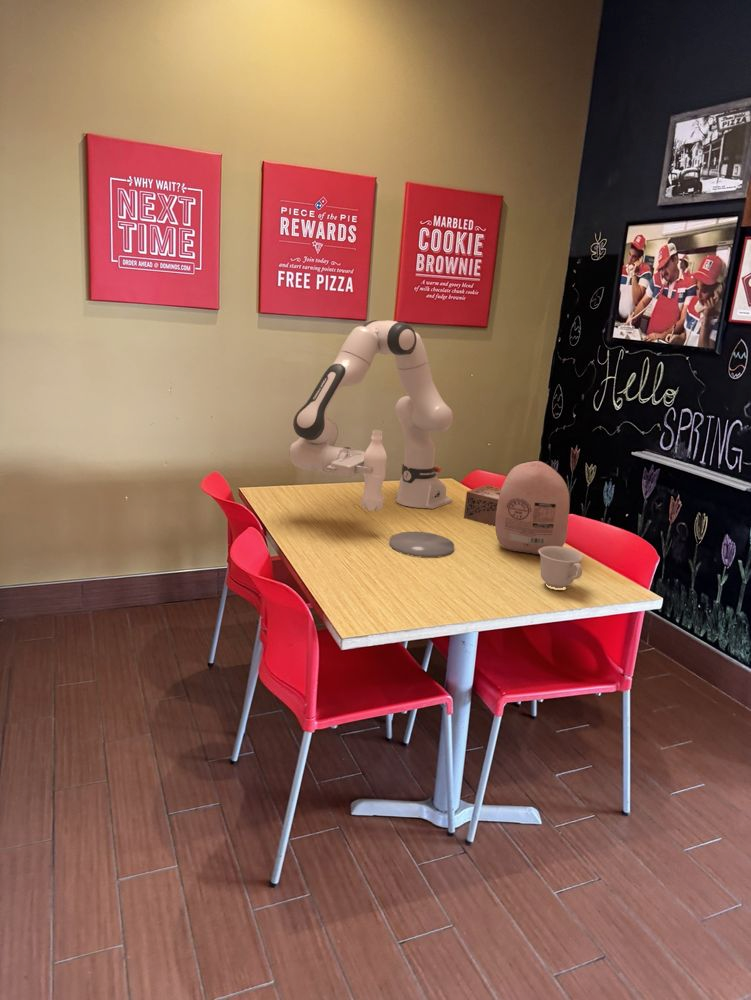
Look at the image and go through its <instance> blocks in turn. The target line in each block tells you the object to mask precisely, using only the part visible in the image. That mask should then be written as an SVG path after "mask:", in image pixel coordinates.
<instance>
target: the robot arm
mask: <svg viewBox="0 0 751 1000" xmlns="http://www.w3.org/2000/svg"><path fill="white" fill-rule="evenodd" d="M377 354H381V355H394V358H395V364H396V368H397V373H398V376H399V382H400V386H401V388H402V390H403V391H404V392H405V393H406V394H407V395H404V396H402V397H400V398H399V399H398V401H397V402H396V404H395V408H394V410H395V411H394V413H395V416H396V418H397V419H398V421H399V423H400V425H401V429H402V430H401V431H402V434H403V439H404V456H403V464H402V466H401V477H400V480H399V483H398V489H397V490H398V491H397V493H396V494H395V498H396V499H395V501H396V503H398V504H399V505H402V506H405V507H410V508H419V509H422V508H423V509H431V510H432V509H433V510H435V509H437V508H440V507H442V506H444V505H448V504H449V503H452V501H453V499H452V498H451V497H449V496H448V495H447V486H446V484H445V483H443V481H442V480H440V479H439V478H438V476H437V474H436V472H437V473H441V471H442V469H441V467H440V466H434V463H435V453H436V445H435V443H434V441H433V440H432V438H431V435H430V433H443V432H446V431H447V430H448V429H449V428H450V427H451V426H452V423H453V420H454V414H453V410H452V409H451V408H450V407H449V406H448V405H447V404H446V402H445V401H444V400H443V398H442V396H441V395H440V392H439V391H438V389H437V387H436V385H435V383H434V380H433V375H432V372H431V368H430V364H429V363H430V362H429V358H428V354H427V351H426V348H425V343H424V342H423V340H422V337H421V335H420V334H419V333H418V332H417V331H415V330H414V329H413V327H412V326H411V325H410V324H408V323H405V322H404V321H395V320H390V319H389V320H387V319H385V320H377V319H376V320H371V321H367V322H365V323H364V324H363V325H359V326H356V327H354V328H353V329H352V331H350V333H349V335H348V336H347V337H346V340H345V341H344V342H343V344H342V346H341V347H340V350H339V352H338V354H337V355H336V358H335V360H334V361H333V363H332V364H331V365H330V366H329V367H328V368H327V369H326V371H325V372H324V373H323V375H322V376H321V378H320V380H319V382H318V383H317V385H316V387H315V388H314V390H313V392H312V393H311V395H310V397H309V398H308V400H307V401H306V402H305V404H303V406H301V408H300V409H298V411H297V412H296V414H295V415H294V418H293V424H292V425H293V430H294V432H295V434H296V435H297V436H298V437H299V438H298V439H297V440H295V441H294V442H292V443H291V445H290V448H289V458H290V461H291V462H292V464H293V465H294V466H295V467H297V468H300V469H302V470H308V471H310V472H311V471H313V472H322V473H325V474H328V475H329V474H330V475H333V476H340V477H345V478H352V477H354V476H355V475H357V474H363V473H367V474H371V473H372V472H373V468H372V467H364V454H365V452H366V451H364V450H357V449H354V448H353V447H351V446H347V447H346V446H344V447H340V446H335V444H336V441H337V439H338V435H339V434H338V433H339V429H338V427H337V425H336V423H335V422H333V420H331V419H330V418H329V417H327V416H326V411H327V410H328V408H329V406H330V404H331V402H332V400H333V399H334V397H335V396H336V393H337V392H338V391H339V390H340V389H341V388H343V387H353V386H356V385H358V384H361V383H362V382H363V380H364V379H365V377H366V376H367V374H368V372H369V370H370V368H371V365H372V363H373V361H374V359H375V356H376V355H377Z"/></svg>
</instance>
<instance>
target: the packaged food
mask: <svg viewBox="0 0 751 1000" xmlns="http://www.w3.org/2000/svg"><path fill="white" fill-rule="evenodd" d="M569 515H570V491H569V489H568V485H567V483H566V481H565V479H564V478H563V476H562V475H561V473H560V472H558V471H557V470H556V469H554V467H552V466H551V465H549V464H547V463H545V462H544V461H541V460H537V459H535V460H528V461H524V462H521V463H519V464H516V465H515V466H514V467H512V469H510V471H509V473H508V474H507V476H506V478H505V480H504V482H503V483H502V486H501V491H500V495H499V500H498V505H497V511H496V522H495V527H494V528H495V534H496V538H497V541H498V544H499V545H500V547H502V548H504V549H506V550H509V551H513V552H517V551H518V552H519V553H524V552H525V554H530V553H532V554H531V555H535V554H540V553H539V552H538V550H539V549H540V548H542V547H545V546H560V547H564V545H565V543H566V540H567V535H568V527H569V526H568V524H569ZM518 552H517V553H518Z"/></svg>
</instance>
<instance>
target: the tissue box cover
mask: <svg viewBox="0 0 751 1000" xmlns="http://www.w3.org/2000/svg"><path fill="white" fill-rule="evenodd" d="M501 488H502V487H501ZM501 488H500V487H497V486H493V485H489V484H485V485H482V486H479V487H475V488H473V489H471V490H468V491H466V496H465V497H466V498H465V504H464V513H463V514H464V515H463V519H466V520H469V521H474V522H477V523H480V524H483V525H487V524H488V525H487V526H491V525H493V526H492V527H494V526H495V522H496V511H497V505H498V500H499V495H500V491H501Z"/></svg>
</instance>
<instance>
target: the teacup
mask: <svg viewBox="0 0 751 1000" xmlns="http://www.w3.org/2000/svg"><path fill="white" fill-rule="evenodd" d="M538 552H539V553H540V555H539V556H540V557H539V558H540V568H539V569H540V570H539V571H540V577H541V579H542V581H543V582H545V584H547V585H548V586H551V587H555V588H563V587H566V588H567V587H568V586H569V585H572V584H573V582H574V581H575V580H578V579H579V578H580V577H582V575H583V567H582V565H581V562H582V561H583V560H584V555H583V554H581V552H579V551H577V550H575V549H572V548H570V547H565V546H563V547H560V546H545V547H542V548H540V549H539V550H538Z"/></svg>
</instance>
